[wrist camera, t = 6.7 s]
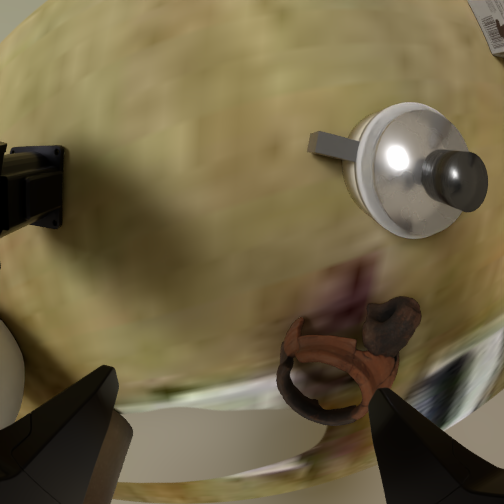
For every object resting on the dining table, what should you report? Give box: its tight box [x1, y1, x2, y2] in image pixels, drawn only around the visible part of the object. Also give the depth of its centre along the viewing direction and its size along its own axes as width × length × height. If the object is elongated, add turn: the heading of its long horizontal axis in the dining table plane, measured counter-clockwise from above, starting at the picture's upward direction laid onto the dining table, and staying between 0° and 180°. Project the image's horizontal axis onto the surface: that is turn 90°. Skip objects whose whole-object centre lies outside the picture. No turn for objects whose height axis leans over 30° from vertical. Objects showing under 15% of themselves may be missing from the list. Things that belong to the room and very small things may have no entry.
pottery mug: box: [276, 296, 421, 426], centre depth 20 cm, size 12×10×8 cm
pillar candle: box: [83, 410, 133, 504], centre depth 20 cm, size 10×10×15 cm
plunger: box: [371, 110, 488, 235], centre depth 12 cm, size 7×7×4 cm
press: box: [307, 102, 444, 239], centre depth 16 cm, size 11×8×4 cm
